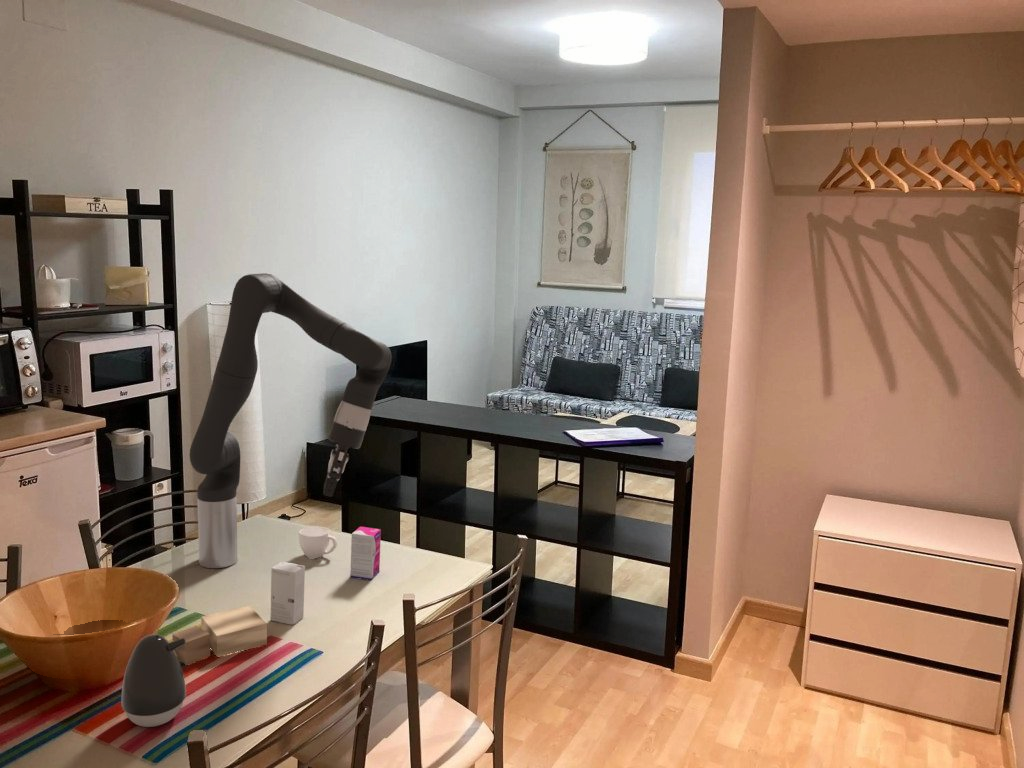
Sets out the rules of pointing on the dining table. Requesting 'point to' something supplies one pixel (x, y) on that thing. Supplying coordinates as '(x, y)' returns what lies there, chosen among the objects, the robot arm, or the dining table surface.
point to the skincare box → (287, 592)
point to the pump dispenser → (153, 682)
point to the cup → (316, 541)
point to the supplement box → (365, 553)
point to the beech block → (235, 630)
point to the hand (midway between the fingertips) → (327, 492)
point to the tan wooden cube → (192, 644)
